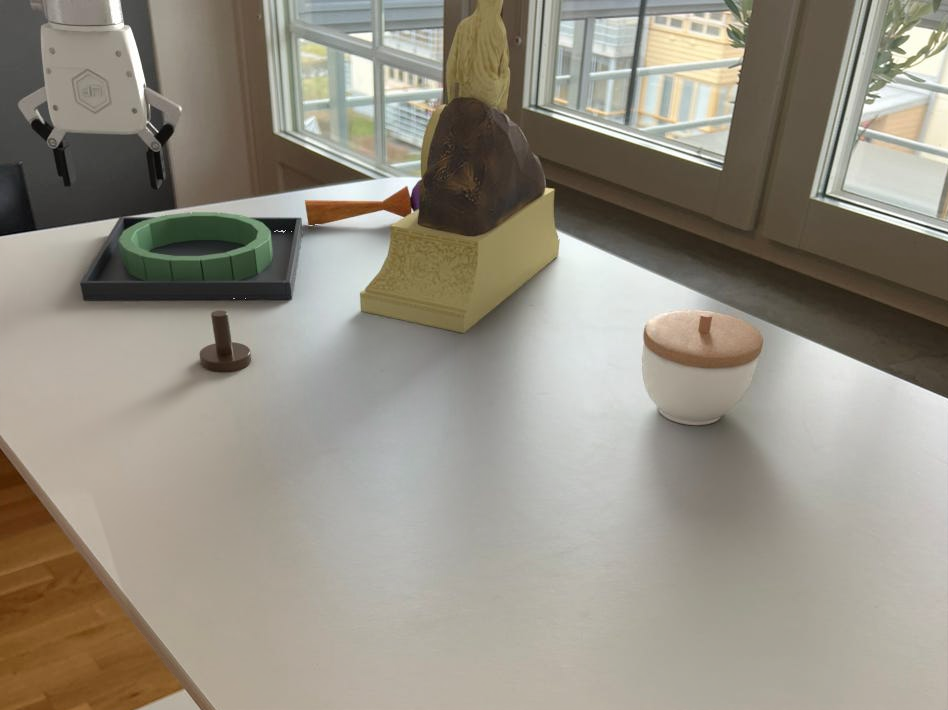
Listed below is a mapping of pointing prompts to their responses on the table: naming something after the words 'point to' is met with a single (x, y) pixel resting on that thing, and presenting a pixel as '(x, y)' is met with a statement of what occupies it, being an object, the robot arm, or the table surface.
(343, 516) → the table surface
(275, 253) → the tray
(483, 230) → the statue on pedestal
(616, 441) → the table surface
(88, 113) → the robot arm
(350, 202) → the kendama
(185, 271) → the ring
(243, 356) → the peg stand
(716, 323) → the trinket box
